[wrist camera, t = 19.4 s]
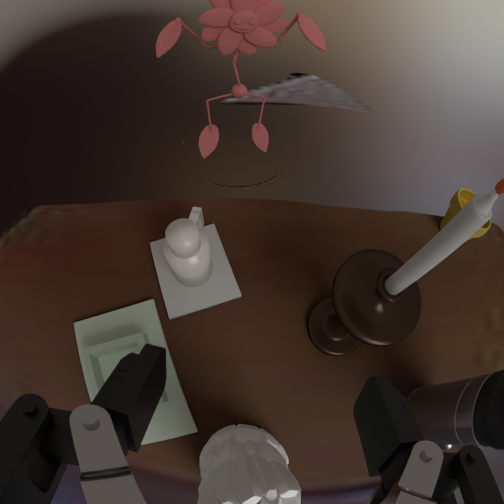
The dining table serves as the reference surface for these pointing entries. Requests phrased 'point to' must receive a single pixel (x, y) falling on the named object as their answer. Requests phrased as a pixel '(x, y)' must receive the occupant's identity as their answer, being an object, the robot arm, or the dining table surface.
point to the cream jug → (188, 250)
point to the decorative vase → (246, 469)
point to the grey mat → (201, 297)
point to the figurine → (239, 46)
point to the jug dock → (133, 340)
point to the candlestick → (387, 287)
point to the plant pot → (455, 207)
